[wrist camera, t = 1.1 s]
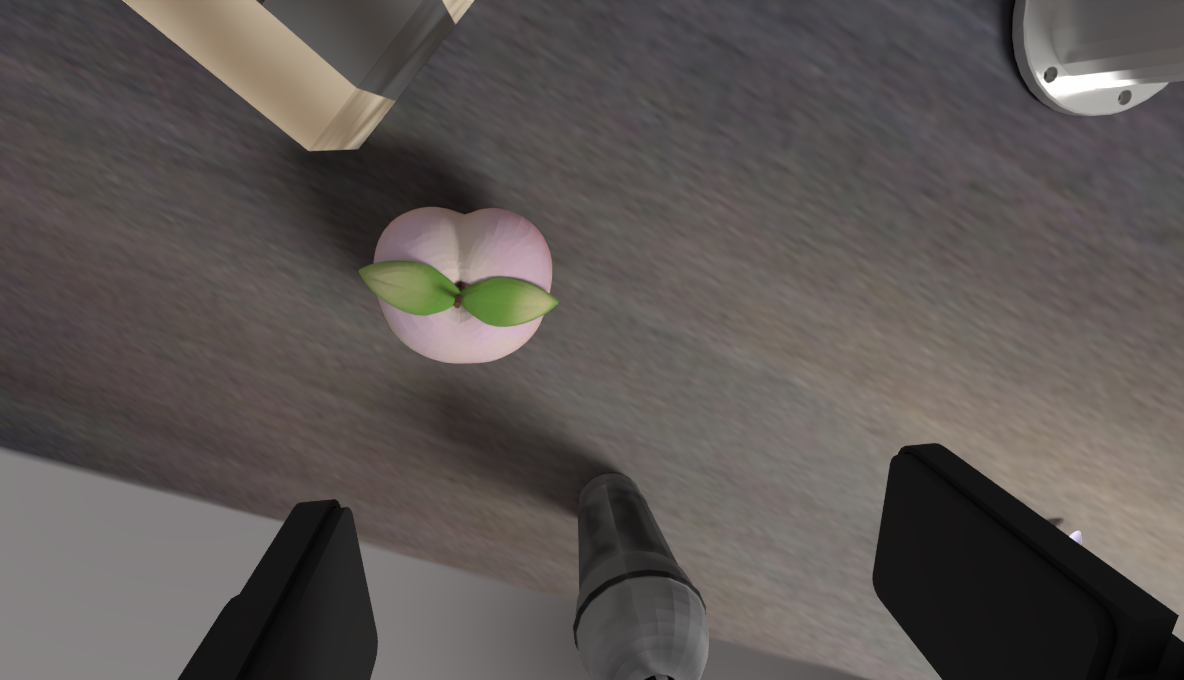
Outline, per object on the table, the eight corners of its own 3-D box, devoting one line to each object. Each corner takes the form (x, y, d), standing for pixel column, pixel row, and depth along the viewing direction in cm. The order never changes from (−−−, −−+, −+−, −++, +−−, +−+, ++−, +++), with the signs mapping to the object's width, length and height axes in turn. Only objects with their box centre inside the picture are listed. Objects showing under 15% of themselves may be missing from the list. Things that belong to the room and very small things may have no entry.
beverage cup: (544, 527, 42) (563, 843, 23) (582, 443, 40) (637, 712, 21) (634, 552, 43) (721, 865, 24) (674, 472, 41) (803, 746, 23)
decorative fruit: (400, 331, 36) (357, 398, 26) (389, 196, 33) (336, 217, 24) (550, 330, 37) (561, 394, 27) (552, 199, 34) (563, 221, 25)
